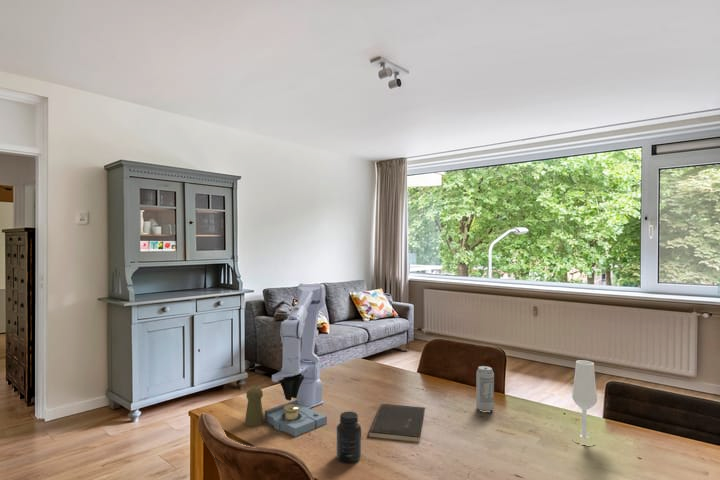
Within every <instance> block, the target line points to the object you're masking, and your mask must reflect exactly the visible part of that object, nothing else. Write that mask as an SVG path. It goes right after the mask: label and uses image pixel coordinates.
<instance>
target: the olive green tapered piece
mask: <svg viewBox="0 0 720 480" xmlns="http://www.w3.org/2000/svg"><path fill="white" fill-rule="evenodd" d="M263 395H264V393H263V390H262V389H261V388H259V387H253V388H250V389H248V390H247V391H246V399H247V405H246V412H245V421H244V425H245V426H247V427H250V428H251V427H253V428H254V427H259V426H261V425H262V426H263V424H264V423H265V422H264V421H265V420H264V413H263V406H262V404H263V403H262V398H263V397H264V396H263Z"/></svg>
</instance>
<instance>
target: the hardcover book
mask: <svg viewBox="0 0 720 480" xmlns="http://www.w3.org/2000/svg"><path fill="white" fill-rule="evenodd" d="M425 411H426V407H423V406H414V405H413V406H411V405H402V404H401V405H400V404H392V403H380V405H379V407H378V410H377V411H376V414H375V416H374V418H373V421H372V423H371V426H370V427H369V430H368V432H367V438H369V437H370V438H377V439H388V440H398V441H405V442H414V443H419V442H420V438H422V437H421V436H422V431H423V424H424V419H425V418H424V417H425V413H426V412H425Z"/></svg>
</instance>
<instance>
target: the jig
mask: <svg viewBox="0 0 720 480" xmlns="http://www.w3.org/2000/svg"><path fill="white" fill-rule="evenodd" d="M290 404H295V405H298V406H299V410H298V420H296V421H285V411H284V406H286V405H290ZM264 421H265V422H266V423H268V424H270V425H271V426H273V429H275V430H277V431H278V432H284V433H286V434H290V435H291V436H293V437H299V436H300V435H303V434H305V433H309V431H313V430H315V429H318V428H320V427H322V426H325V425H327V423H328V422H327V421H328V416H327V415H325V414H322V413H321V412H319V411H315V410H313V409H311V408H307V407H304V406H302V405H300V404H298V401H297V400H296V399H295V400H292V401H290V402H289V401H288V402H287V403H283V404H281V405H277V406H275V407H272V408H268V409H266V410H265V411H264Z"/></svg>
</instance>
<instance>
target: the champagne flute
mask: <svg viewBox="0 0 720 480" xmlns="http://www.w3.org/2000/svg"><path fill="white" fill-rule="evenodd" d="M595 374H596V372H595V363H594V362H592V361H590V360H584V359H583V360H581V359H579V360H578V359H577V360H576V361H575V370H574V377H573V378H574V379H573V385H572V386H573V387H572V396H571V397H572V400H573V402H574V403H575V404H576V406H578V407H579V408H580V409H581V434H579V435H580V437H582V438H588V437H589V436H588V435H587V410H590V409H591V408H593V407H594V406H595V405H596V404H597V403H598V395H597V393H598V392H597V384H596V375H595Z"/></svg>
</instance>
